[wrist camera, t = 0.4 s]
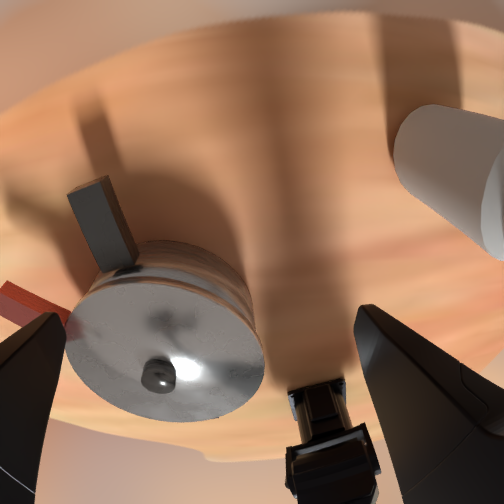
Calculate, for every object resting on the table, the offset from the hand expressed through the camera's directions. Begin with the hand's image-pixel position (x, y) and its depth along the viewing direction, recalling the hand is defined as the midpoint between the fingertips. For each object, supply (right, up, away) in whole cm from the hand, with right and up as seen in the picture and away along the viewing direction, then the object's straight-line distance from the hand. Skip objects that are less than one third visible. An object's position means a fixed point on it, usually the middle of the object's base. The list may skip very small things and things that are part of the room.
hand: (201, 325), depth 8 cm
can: (+15, +10, +12) cm, 21 cm away
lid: (-8, -5, +12) cm, 15 cm away
